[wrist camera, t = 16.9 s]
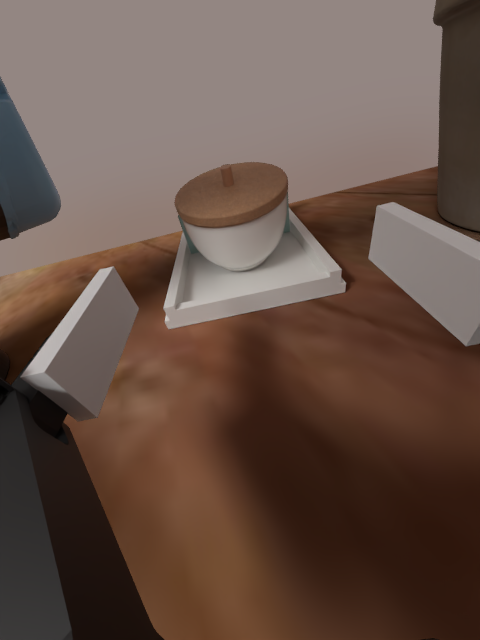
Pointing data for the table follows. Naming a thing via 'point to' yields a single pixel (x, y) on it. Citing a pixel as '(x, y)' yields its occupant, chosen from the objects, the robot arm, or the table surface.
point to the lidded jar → (235, 213)
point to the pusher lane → (251, 280)
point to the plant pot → (459, 113)
